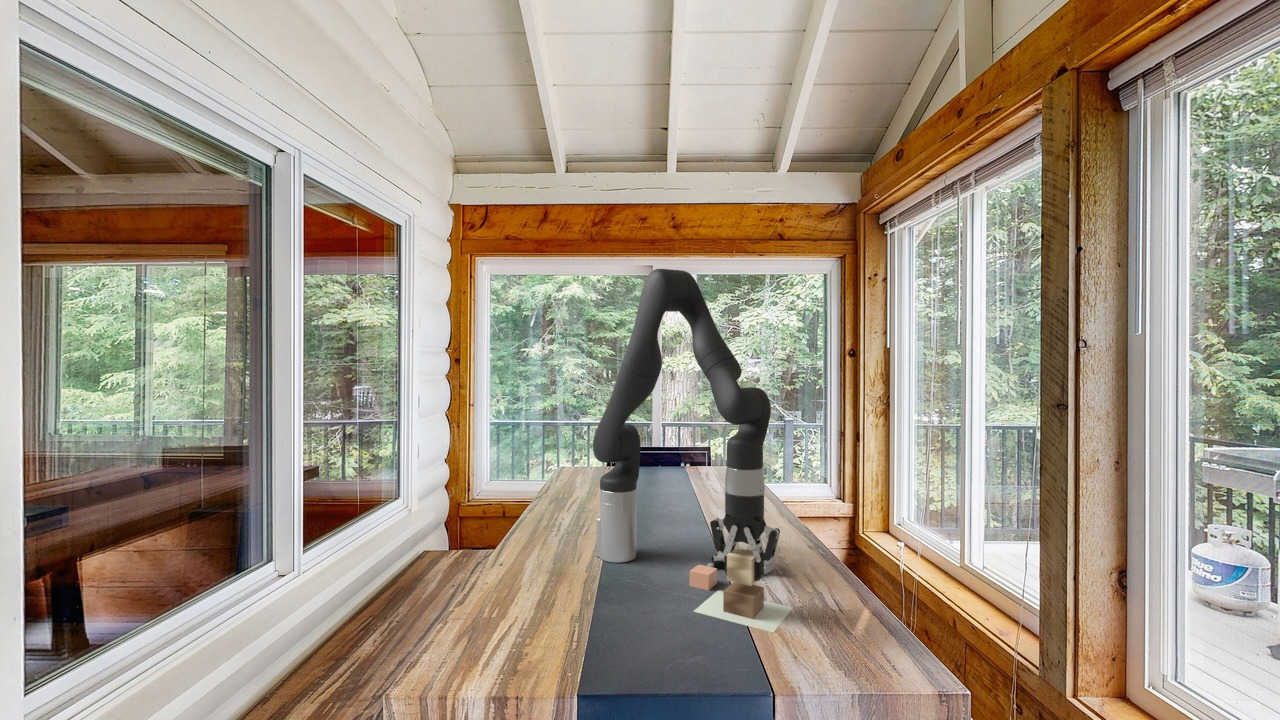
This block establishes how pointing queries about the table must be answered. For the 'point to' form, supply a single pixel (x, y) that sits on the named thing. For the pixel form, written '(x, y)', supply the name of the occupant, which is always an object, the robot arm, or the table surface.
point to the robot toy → (719, 563)
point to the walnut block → (743, 600)
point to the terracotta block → (703, 577)
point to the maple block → (741, 566)
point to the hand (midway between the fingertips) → (744, 576)
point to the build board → (763, 620)
